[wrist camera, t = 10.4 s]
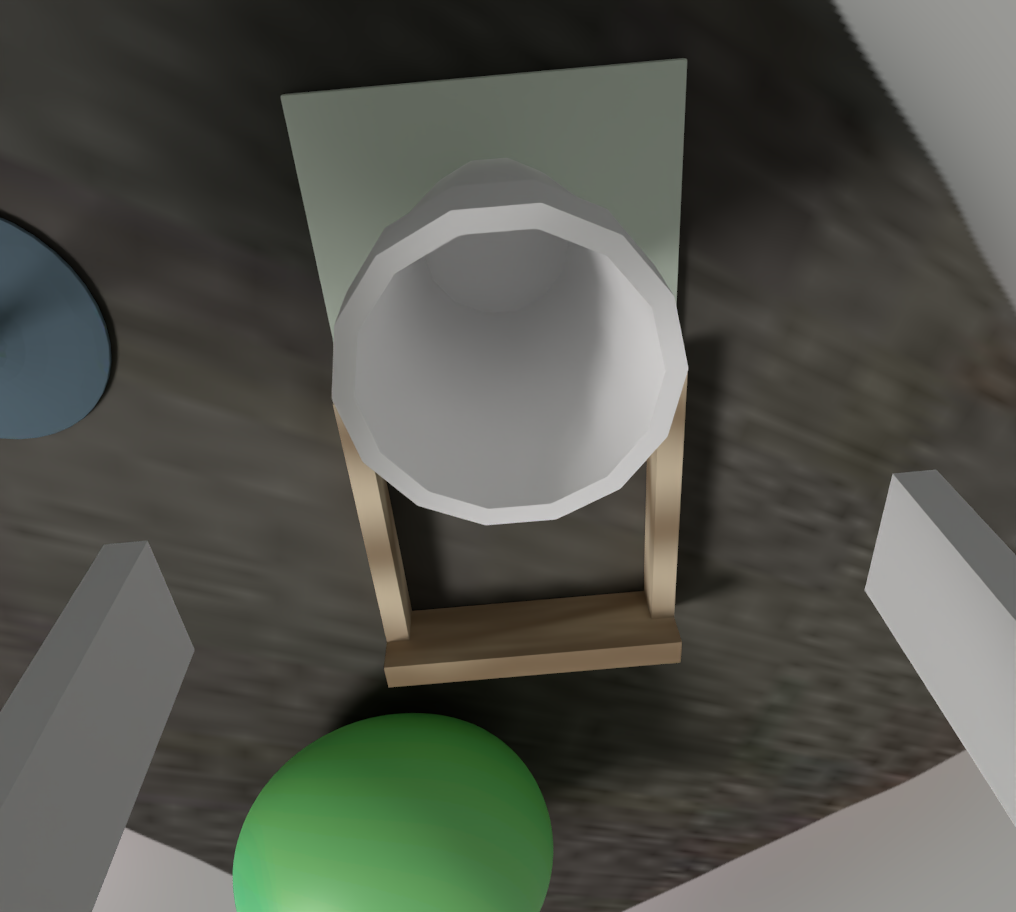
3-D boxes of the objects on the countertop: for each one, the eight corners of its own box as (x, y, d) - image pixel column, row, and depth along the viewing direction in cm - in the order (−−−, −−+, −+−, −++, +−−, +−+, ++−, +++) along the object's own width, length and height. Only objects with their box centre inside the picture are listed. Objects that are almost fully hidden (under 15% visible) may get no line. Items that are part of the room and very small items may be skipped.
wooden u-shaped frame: (340, 381, 35) (326, 425, 32) (676, 351, 35) (698, 392, 31) (394, 631, 44) (388, 687, 40) (664, 608, 43) (680, 662, 40)
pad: (283, 94, 28) (280, 96, 28) (684, 57, 28) (687, 59, 28) (344, 381, 35) (342, 386, 35) (671, 352, 35) (674, 357, 34)
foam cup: (351, 300, 32) (291, 469, 21) (419, 73, 28) (388, 141, 17) (556, 370, 35) (596, 556, 24) (650, 171, 30) (754, 287, 19)
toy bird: (474, 623, 43) (476, 883, 31) (586, 782, 52) (622, 1037, 40) (213, 722, 47) (121, 991, 35) (357, 856, 55) (325, 1111, 43)
